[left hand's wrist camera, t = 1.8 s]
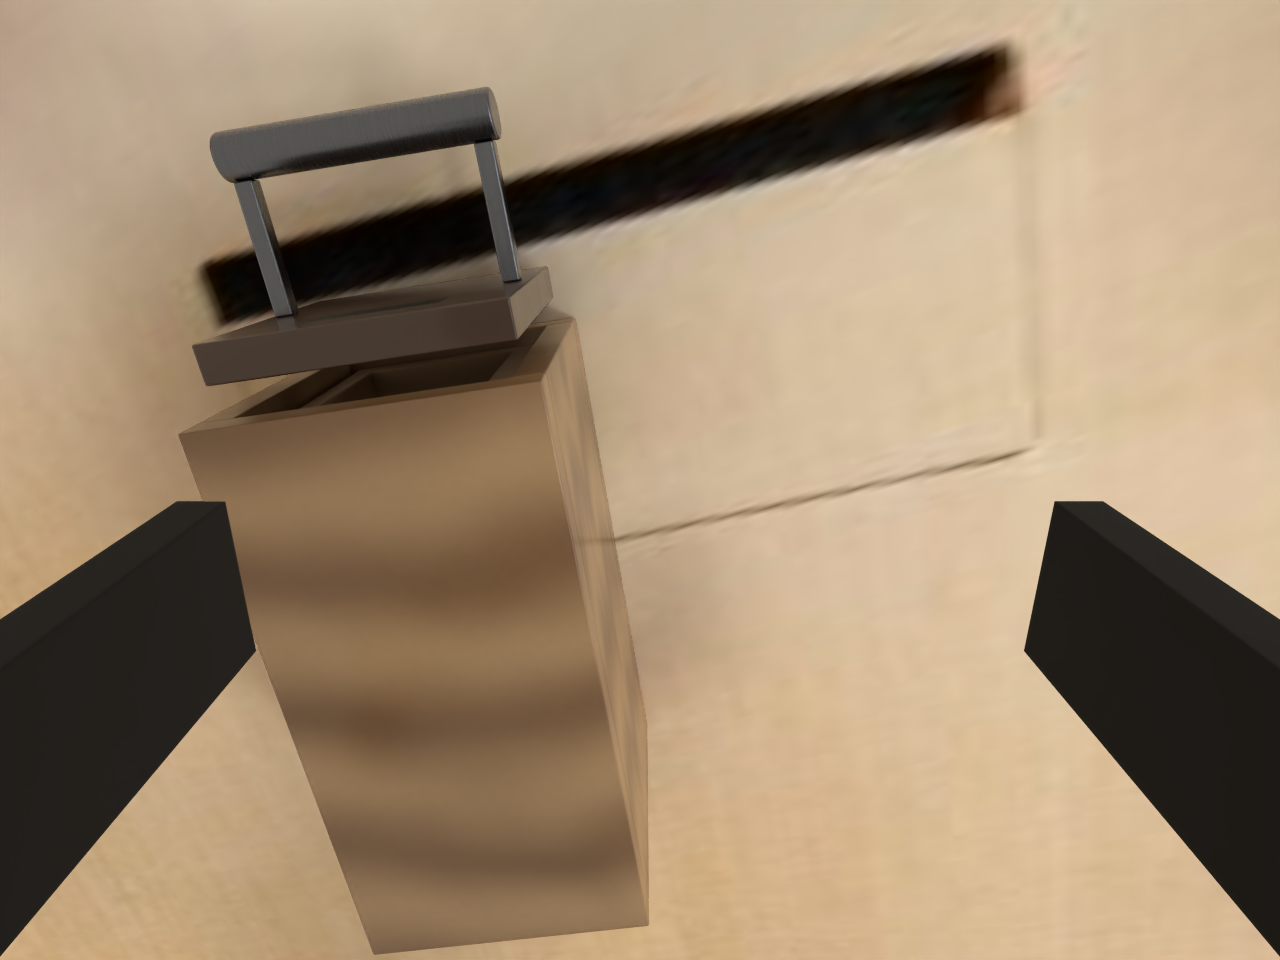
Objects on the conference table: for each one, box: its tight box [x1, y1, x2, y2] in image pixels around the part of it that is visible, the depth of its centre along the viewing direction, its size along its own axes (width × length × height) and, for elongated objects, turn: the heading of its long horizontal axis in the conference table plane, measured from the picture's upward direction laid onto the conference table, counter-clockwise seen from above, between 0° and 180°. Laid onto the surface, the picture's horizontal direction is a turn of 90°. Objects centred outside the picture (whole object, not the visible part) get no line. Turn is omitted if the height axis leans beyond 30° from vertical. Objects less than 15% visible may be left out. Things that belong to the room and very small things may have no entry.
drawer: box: [192, 87, 553, 409], centre depth 28 cm, size 25×9×9 cm, turn 8°
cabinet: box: [179, 318, 649, 955], centre depth 30 cm, size 20×10×11 cm, turn 8°
